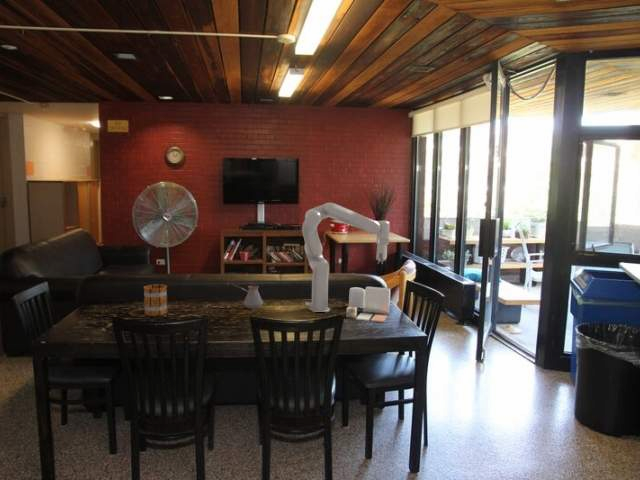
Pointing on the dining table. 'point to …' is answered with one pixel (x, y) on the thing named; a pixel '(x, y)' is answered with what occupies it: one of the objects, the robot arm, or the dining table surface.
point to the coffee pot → (251, 297)
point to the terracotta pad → (379, 318)
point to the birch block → (351, 312)
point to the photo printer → (357, 297)
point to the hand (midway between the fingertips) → (381, 269)
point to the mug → (155, 299)
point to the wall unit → (377, 301)
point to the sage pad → (364, 316)
